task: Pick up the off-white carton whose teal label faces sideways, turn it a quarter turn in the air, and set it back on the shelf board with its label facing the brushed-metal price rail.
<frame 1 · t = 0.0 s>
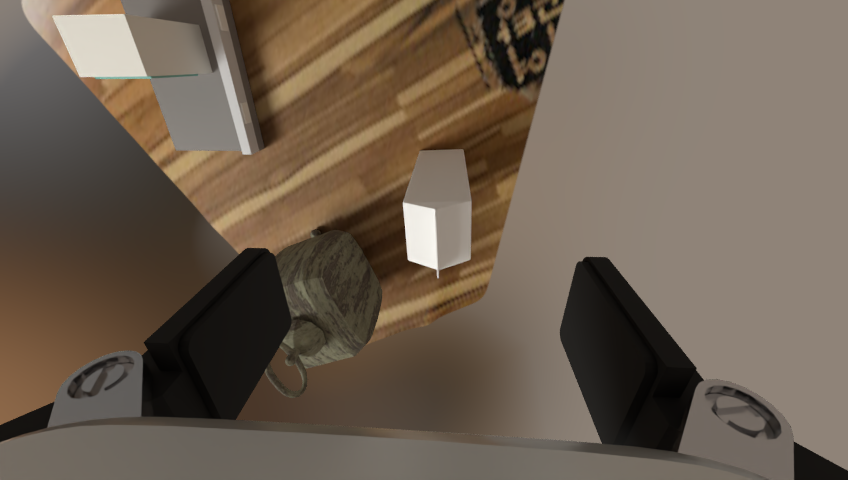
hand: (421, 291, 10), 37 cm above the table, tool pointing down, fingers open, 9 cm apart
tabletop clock: (349, 253, 54), on the table
shelf board: (200, 68, 42), on the table
carton: (178, 50, 40), point 1 cm above the table, touching shelf board
milk: (442, 170, 46), on the table
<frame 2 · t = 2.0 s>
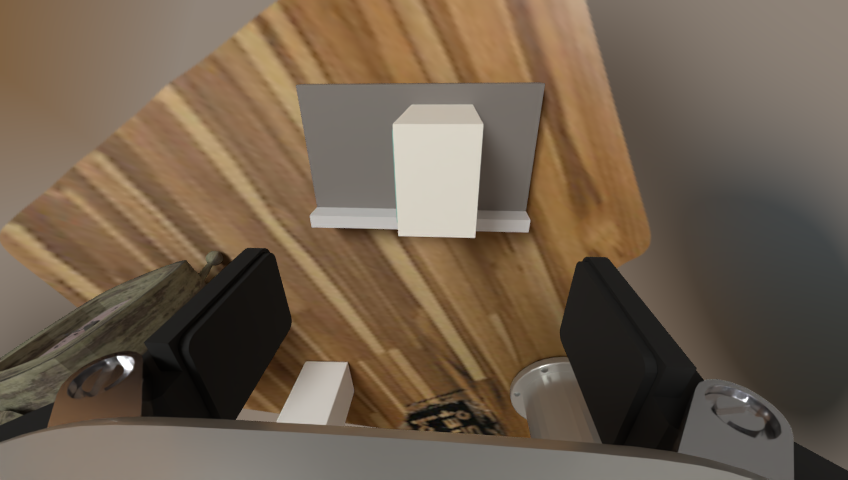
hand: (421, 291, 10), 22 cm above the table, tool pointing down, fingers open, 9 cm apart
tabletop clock: (201, 284, 40), on the table
shelf board: (419, 154, 30), on the table
carton: (441, 147, 28), point 1 cm above the table, touching shelf board
milk: (331, 375, 46), on the table
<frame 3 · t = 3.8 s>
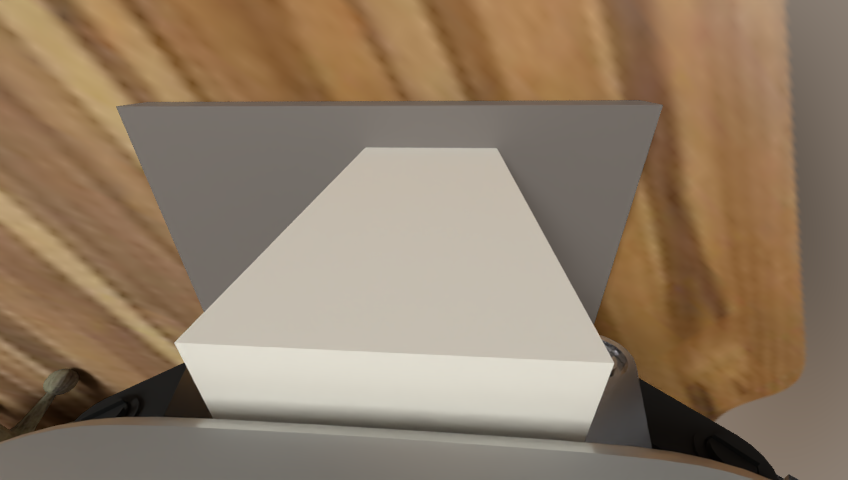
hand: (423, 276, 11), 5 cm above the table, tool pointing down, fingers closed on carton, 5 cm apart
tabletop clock: (61, 405, 26), on the table
shelf board: (390, 233, 16), on the table
carton: (430, 230, 14), point 2 cm above the table, touching gripper, shelf board
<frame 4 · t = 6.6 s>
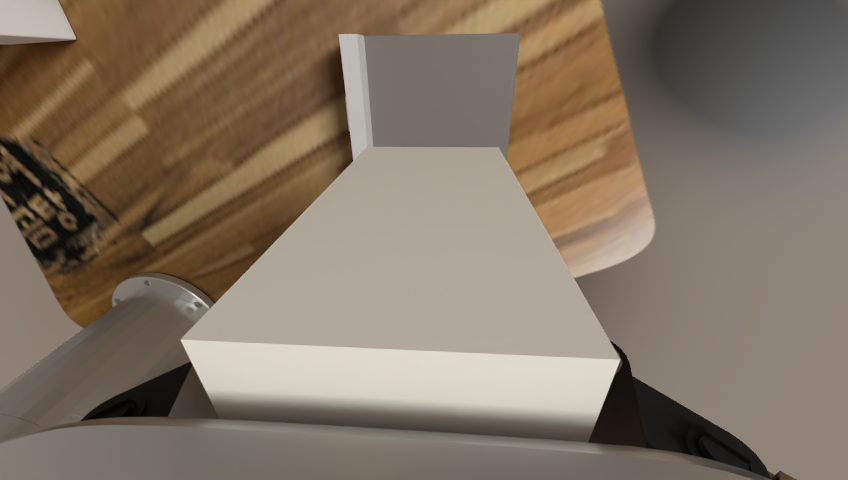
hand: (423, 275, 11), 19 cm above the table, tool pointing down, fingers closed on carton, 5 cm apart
shelf board: (432, 170, 29), on the table
carton: (431, 229, 14), point 16 cm above the table, touching gripper
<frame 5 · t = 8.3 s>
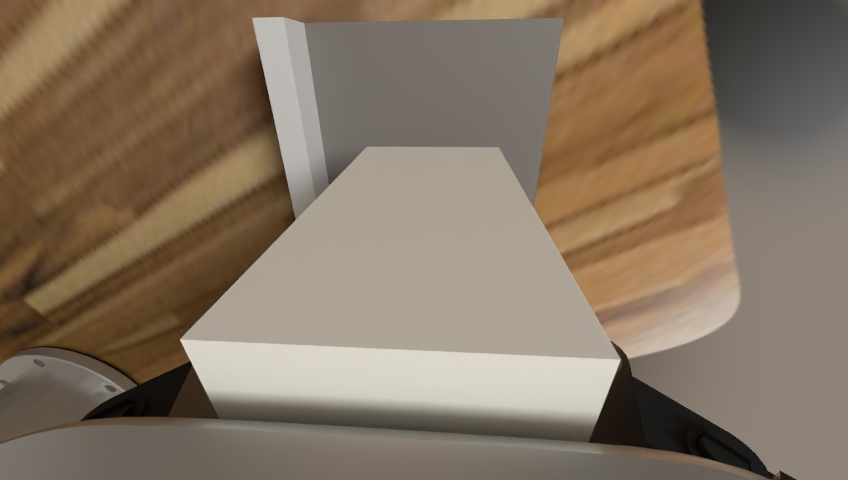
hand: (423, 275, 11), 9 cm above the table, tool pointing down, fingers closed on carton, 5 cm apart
shelf board: (422, 222, 20), on the table
carton: (432, 229, 14), point 5 cm above the table, touching gripper
when the fingers open (6 cm above the table, at t = 9.3 s): carton drops 1 cm, resting on shelf board.
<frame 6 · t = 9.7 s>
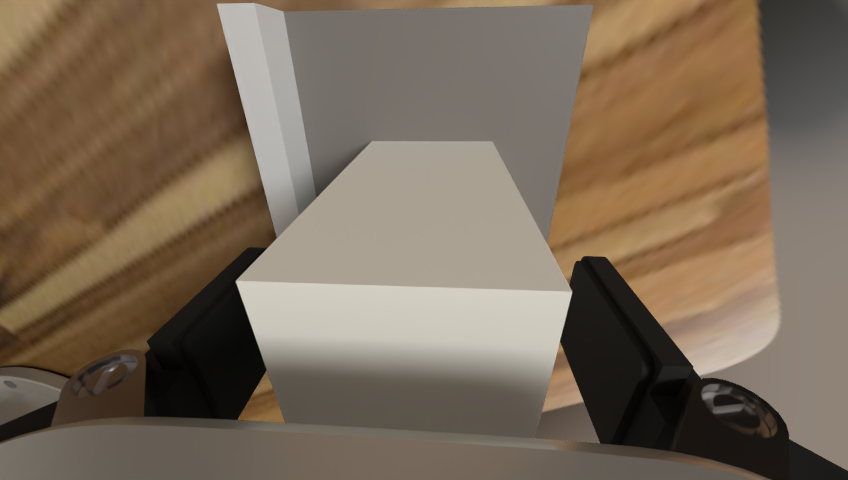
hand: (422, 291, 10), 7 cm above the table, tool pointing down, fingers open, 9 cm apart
shelf board: (422, 239, 18), on the table
carton: (431, 218, 15), point 1 cm above the table, touching shelf board
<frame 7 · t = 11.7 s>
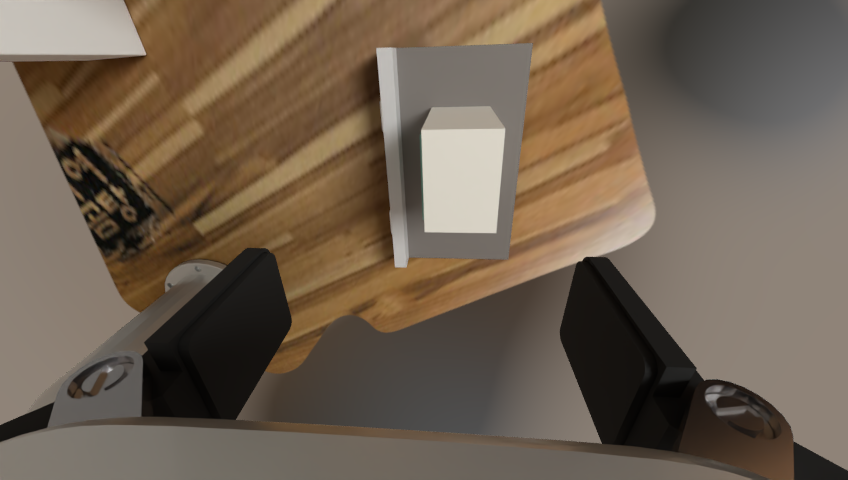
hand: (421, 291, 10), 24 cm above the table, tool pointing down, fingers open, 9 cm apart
shelf board: (453, 164, 32), on the table
carton: (459, 147, 30), point 1 cm above the table, touching shelf board
milk: (103, 19, 29), on the table
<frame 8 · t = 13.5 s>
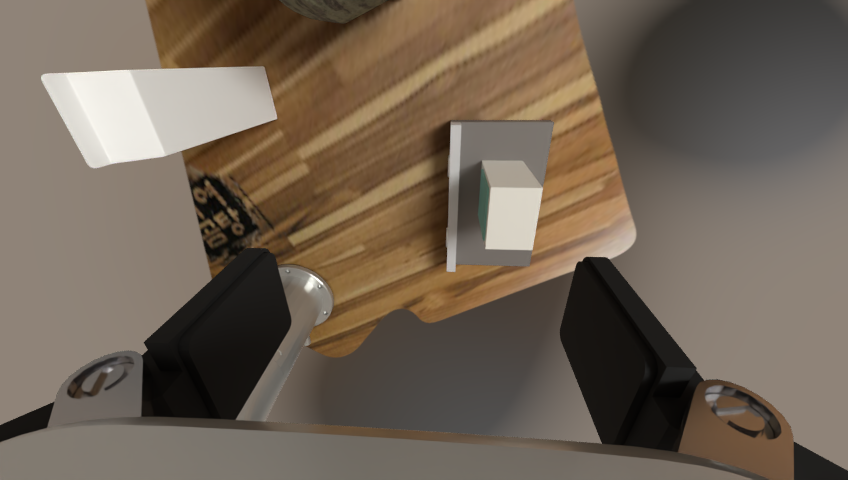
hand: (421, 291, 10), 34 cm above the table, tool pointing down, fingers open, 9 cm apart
shelf board: (492, 197, 45), on the table
carton: (499, 187, 42), point 1 cm above the table, touching shelf board
milk: (249, 94, 41), on the table
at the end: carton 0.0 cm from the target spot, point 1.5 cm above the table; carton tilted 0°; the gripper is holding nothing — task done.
